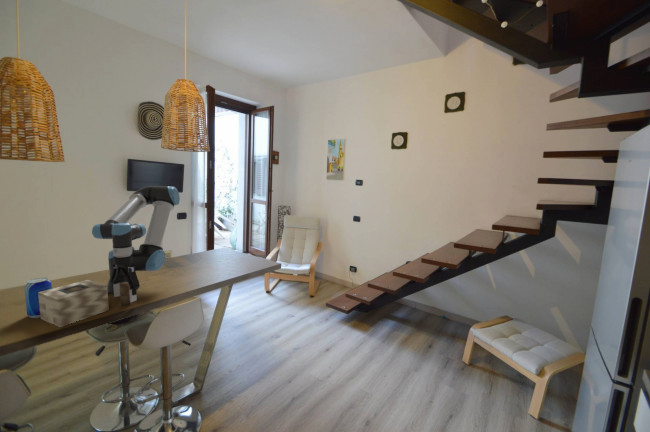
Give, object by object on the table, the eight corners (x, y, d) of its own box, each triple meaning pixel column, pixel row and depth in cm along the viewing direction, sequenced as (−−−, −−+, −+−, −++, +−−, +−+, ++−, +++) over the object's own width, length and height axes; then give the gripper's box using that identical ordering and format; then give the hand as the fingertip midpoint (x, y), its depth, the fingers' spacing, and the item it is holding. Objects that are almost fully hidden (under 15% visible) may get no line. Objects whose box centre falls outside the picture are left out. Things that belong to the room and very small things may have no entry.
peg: (127, 302, 141) (126, 281, 139) (132, 304, 139) (131, 282, 138) (118, 305, 137) (117, 283, 136) (123, 307, 136) (122, 285, 134)
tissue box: (89, 303, 139) (87, 279, 137) (108, 310, 132) (107, 285, 131) (40, 318, 122) (38, 292, 121) (60, 327, 116) (58, 299, 114)
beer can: (33, 320, 121) (30, 284, 119) (23, 316, 124) (19, 281, 122) (58, 312, 128) (55, 278, 127) (47, 308, 132) (44, 275, 130)
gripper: (99, 253, 137) (102, 296, 139) (130, 260, 127) (133, 306, 130) (116, 250, 143) (118, 291, 146) (147, 257, 134) (149, 300, 136)
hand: (125, 298), depth 138 cm, fingers open, 12 cm apart
